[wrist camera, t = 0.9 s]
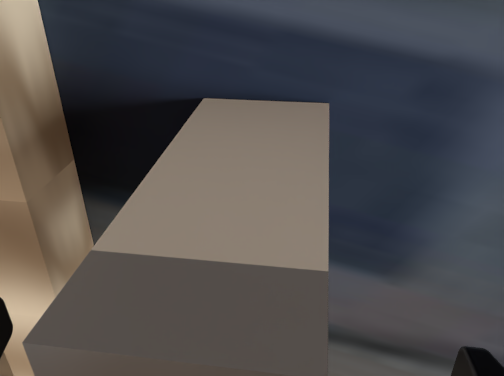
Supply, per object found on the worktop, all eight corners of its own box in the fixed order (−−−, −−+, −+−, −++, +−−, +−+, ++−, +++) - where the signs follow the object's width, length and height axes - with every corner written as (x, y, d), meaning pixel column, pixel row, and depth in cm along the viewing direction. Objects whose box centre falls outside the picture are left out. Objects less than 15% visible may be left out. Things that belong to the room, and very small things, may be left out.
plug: (320, 211, 16) (309, 538, 7) (210, 203, 17) (81, 499, 8) (329, 103, 14) (328, 379, 5) (203, 98, 15) (21, 343, 6)
